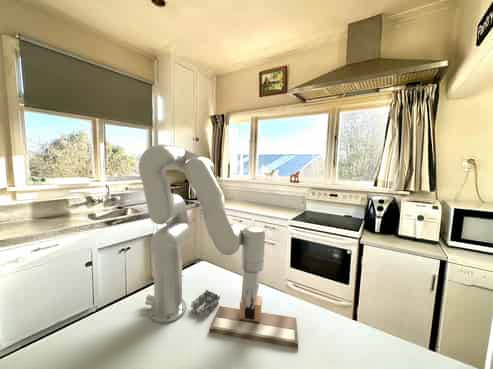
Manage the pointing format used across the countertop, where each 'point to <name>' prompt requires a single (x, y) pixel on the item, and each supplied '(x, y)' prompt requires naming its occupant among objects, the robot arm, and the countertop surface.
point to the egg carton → (209, 298)
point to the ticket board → (256, 327)
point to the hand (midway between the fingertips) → (250, 312)
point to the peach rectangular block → (256, 305)
